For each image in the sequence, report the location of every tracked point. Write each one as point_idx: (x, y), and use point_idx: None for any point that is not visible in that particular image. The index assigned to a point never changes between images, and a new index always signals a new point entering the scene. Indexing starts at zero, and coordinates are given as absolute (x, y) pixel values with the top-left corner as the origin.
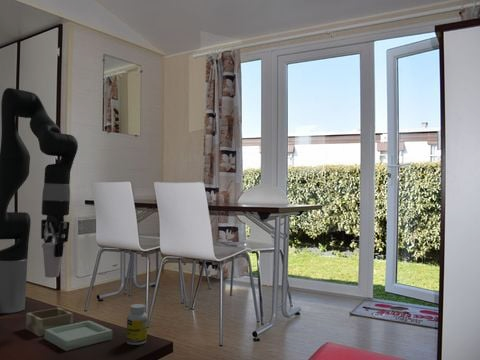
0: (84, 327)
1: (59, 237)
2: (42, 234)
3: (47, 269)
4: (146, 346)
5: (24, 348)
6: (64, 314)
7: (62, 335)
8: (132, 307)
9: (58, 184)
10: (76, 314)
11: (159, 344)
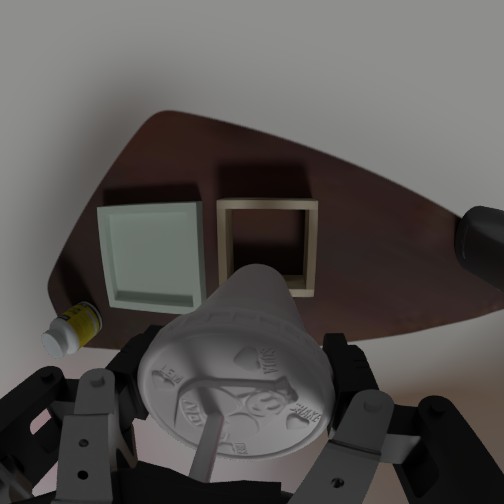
0: (188, 292)
1: (24, 386)
2: (439, 431)
3: (233, 275)
4: None
5: (168, 146)
6: None
7: (163, 228)
8: (45, 333)
9: None
10: None
11: None
